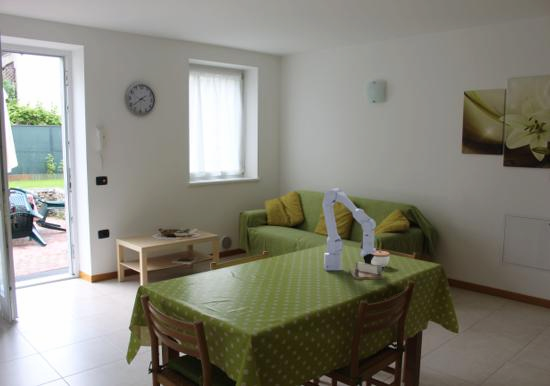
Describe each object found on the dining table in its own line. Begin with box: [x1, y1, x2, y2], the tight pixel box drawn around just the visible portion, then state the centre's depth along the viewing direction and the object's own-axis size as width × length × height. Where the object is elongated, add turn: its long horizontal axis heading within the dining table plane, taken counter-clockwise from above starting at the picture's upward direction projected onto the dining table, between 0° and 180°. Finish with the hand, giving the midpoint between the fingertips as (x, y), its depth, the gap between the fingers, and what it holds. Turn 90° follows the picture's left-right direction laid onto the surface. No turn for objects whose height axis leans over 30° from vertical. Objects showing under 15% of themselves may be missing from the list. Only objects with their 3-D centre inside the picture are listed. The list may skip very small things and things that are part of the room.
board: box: [348, 267, 384, 280], centre depth 256 cm, size 15×15×5 cm
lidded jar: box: [371, 249, 390, 268], centre depth 273 cm, size 11×11×9 cm
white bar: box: [355, 261, 383, 275], centre depth 256 cm, size 14×2×4 cm, turn 52°
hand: (367, 267), depth 258 cm, fingers closed, pressing on white bar
